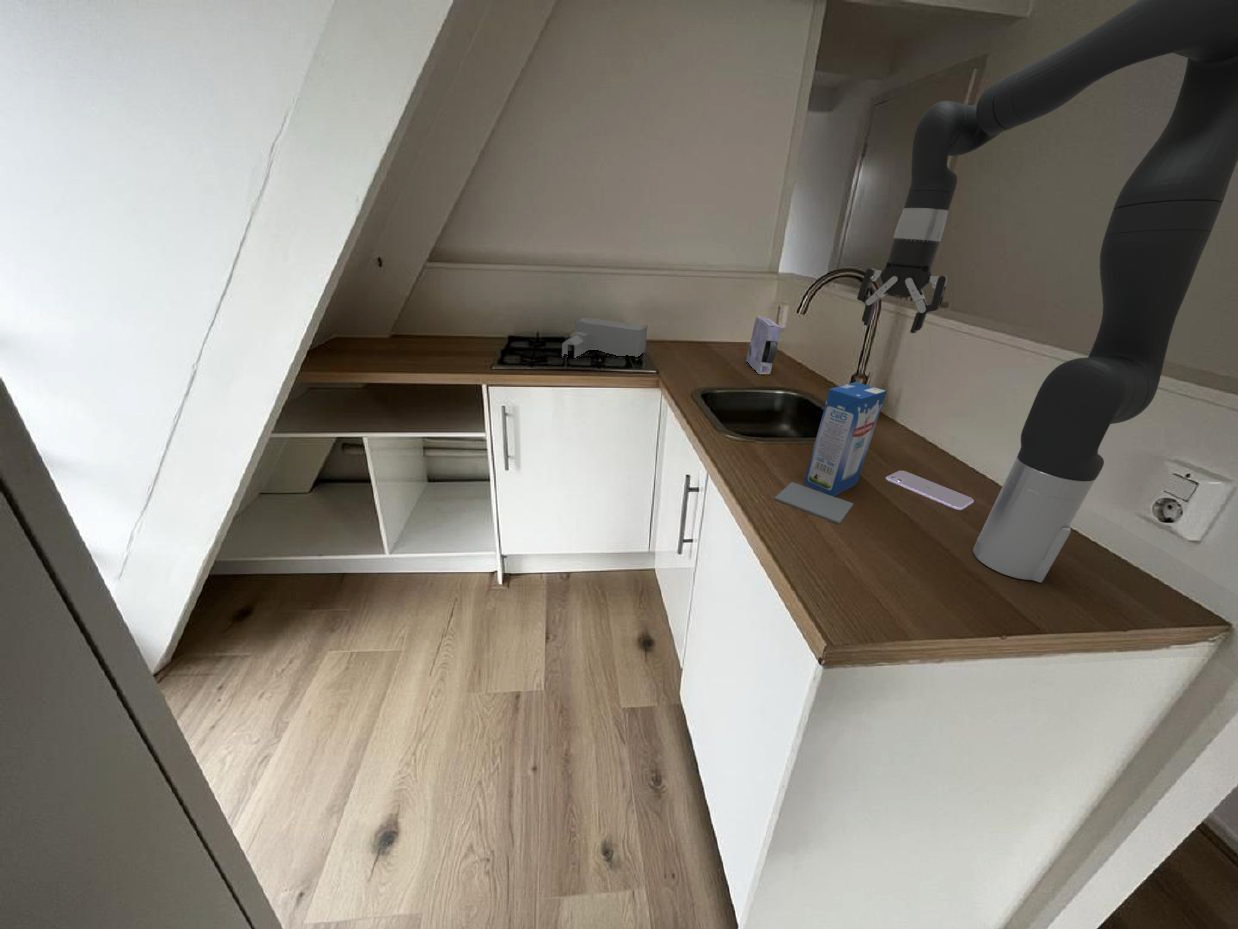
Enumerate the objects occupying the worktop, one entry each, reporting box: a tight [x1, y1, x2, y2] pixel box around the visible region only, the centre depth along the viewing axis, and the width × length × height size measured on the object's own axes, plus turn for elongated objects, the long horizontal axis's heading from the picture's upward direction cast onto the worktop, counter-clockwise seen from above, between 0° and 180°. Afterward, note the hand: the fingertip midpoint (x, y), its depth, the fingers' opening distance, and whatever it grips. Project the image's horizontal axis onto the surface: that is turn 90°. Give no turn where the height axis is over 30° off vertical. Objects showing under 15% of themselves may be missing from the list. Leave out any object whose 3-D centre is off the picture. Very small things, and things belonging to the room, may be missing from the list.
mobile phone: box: [885, 470, 974, 511], centre depth 101 cm, size 8×1×15 cm
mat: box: [774, 481, 854, 525], centre depth 92 cm, size 12×9×1 cm
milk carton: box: [803, 381, 888, 497], centre depth 96 cm, size 10×6×20 cm, turn 130°
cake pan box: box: [745, 315, 782, 375], centre depth 177 cm, size 19×5×18 cm, turn 0°
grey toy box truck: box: [561, 317, 648, 359], centre depth 181 cm, size 25×23×11 cm
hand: (889, 328), depth 96 cm, fingers open, 8 cm apart
